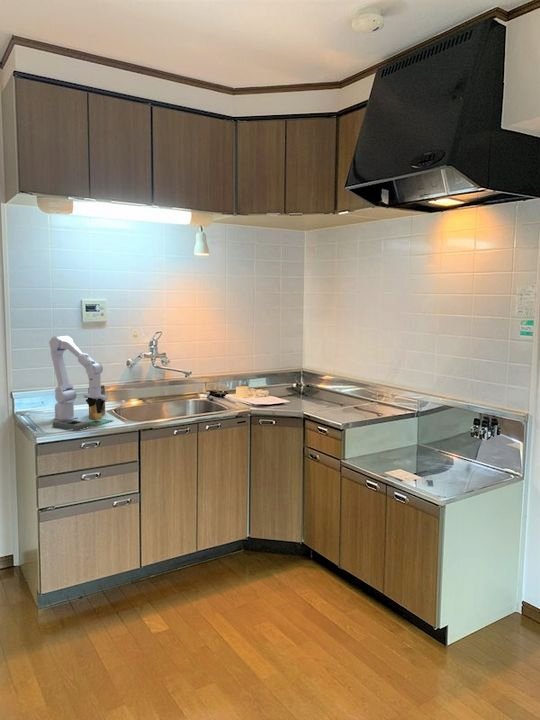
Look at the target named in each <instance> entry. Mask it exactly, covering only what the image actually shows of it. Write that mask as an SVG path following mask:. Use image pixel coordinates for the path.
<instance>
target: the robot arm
mask: <svg viewBox="0 0 540 720" xmlns="http://www.w3.org/2000/svg"><path fill="white" fill-rule="evenodd" d="M48 344H49V347H50V356H51V359H52V365H53V369H54V373H55V377H56V381H57V387H55V389H54V393H55V395H54V398H55V400H56V403H54V418H53V419H54V420H57V421H59V420H62V419H70V420H76V419H78V416H75V411H74V410H75V408H74V402H75V400H76V398H77V391H76V390H75V388H74V385H72V384H71V383H69V382H70V381H69V377H68V373H67V368H66V364H65V359H64V356H63V355H64V352H65V351H67V350H68V351H69V352H70V353H71V354H73V355H74V356H75V357H76V358H77V362H78V363H79V364H80V365H81V366H83V368H84V369H85V372H86V374H87V378H88V388H89V394H88V393H83V398H84V399H85V402H86V403H87V405H88V409H89V408H90V406H93V405H95V403H96V407H97V413H98V414H99V413H101V411H102V407H103V404H104V402H105V403H106V401H107V400H108V395H105V396H104V395H101V385H102V384H101V379H102V378H101V373H102V372H103V369H104V367H103V366H102V364H101V363H100V362H96V360H94V359H93V358H92V357H90V355H89V353H84V352H82V351H81V349H80V348H79V347H78V346H77V345H76V344H75V342H74V339H73V338H72V337H71V336H70V335H61V336H52V337H51V339H50V340H49V342H48ZM96 399H98V400H96Z"/></svg>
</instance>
